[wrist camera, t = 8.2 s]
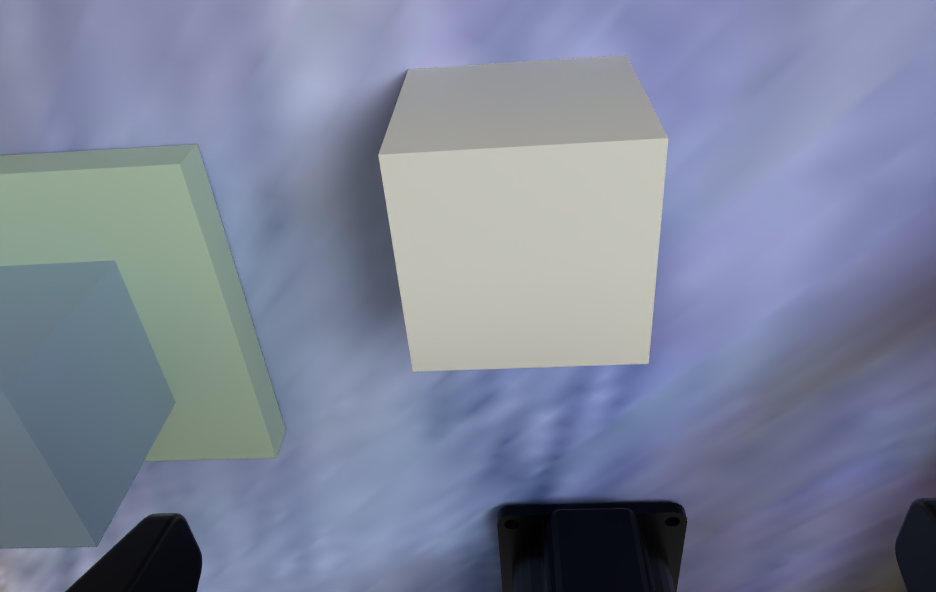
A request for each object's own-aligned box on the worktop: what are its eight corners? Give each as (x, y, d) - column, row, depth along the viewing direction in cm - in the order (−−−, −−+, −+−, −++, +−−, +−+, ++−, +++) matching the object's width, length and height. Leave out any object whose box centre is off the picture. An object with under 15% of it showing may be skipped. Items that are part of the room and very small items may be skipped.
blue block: (175, 402, 21) (97, 546, 17) (16, 408, 22) (-98, 550, 17) (115, 260, 18) (3, 391, 14) (-67, 269, 19) (-226, 400, 15)
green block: (286, 430, 23) (276, 458, 22) (-2, 438, 24) (-24, 465, 23) (197, 144, 18) (179, 164, 17) (-175, 166, 18) (-214, 186, 17)
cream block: (616, 243, 19) (648, 363, 15) (431, 251, 19) (412, 371, 15) (625, 53, 16) (668, 137, 12) (408, 68, 17) (378, 154, 12)
